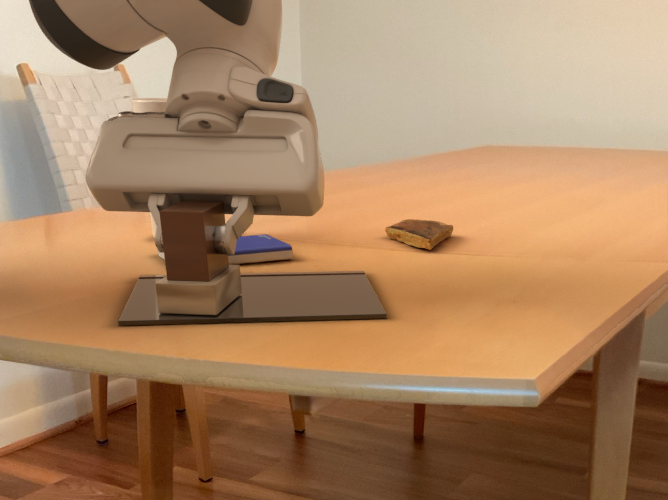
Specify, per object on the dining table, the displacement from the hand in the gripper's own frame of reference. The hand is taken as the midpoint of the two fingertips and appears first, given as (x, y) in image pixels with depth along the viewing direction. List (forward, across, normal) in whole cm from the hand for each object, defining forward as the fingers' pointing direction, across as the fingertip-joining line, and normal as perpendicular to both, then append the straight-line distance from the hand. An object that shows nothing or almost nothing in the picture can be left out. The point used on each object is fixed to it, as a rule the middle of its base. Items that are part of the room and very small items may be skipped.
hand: (194, 249), depth 77 cm
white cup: (-19, -13, +27) cm, 35 cm away
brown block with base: (+3, 0, +4) cm, 5 cm away
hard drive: (-12, -4, +20) cm, 23 cm away
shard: (-22, +17, +29) cm, 40 cm away
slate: (0, +4, +7) cm, 8 cm away
